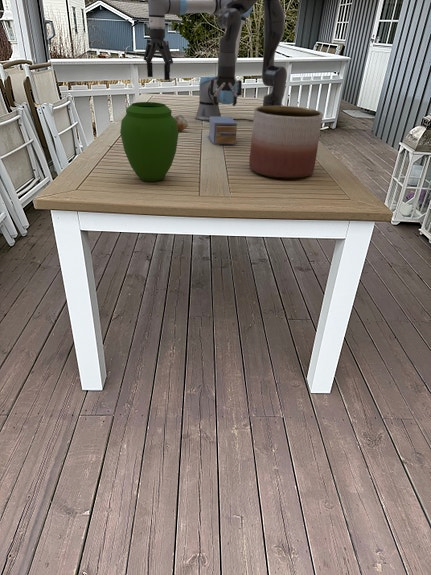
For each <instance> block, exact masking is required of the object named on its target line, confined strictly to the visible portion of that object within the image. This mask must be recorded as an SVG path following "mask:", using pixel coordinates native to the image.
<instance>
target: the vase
mask: <svg viewBox="0 0 431 575" xmlns="http://www.w3.org/2000/svg"><path fill="white" fill-rule="evenodd" d="M125 113H126V114H125V115H124V117H122V119H121V122H120V123H121V124H120V130H119V133H120V138H121V142H122V147H123V150H124V154H125V155H126V158H127V160H128V163H129V165H130V167H131V168H132V170H133V172H134V173H135V175H136V176H137V177H138V178H139V179H141V180H143V181H145V182H159V181H161V180H163V179H164V178H165V176H166V175H167V174H168V173H169V170H170V169H171V167H172V165H173V162H174V159H175V157H176V156H175V155H176V153H177V147H178V140H179V131H178V128H177V123H176V120H175V119H174V116H173V115H172V109H171V108H170V107H169V106H167V105H166V104H164V103H162V102H155V101H138V102H132V103H131V104H130V105H128V107H127V108H125Z"/></svg>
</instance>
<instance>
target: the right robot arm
mask: <svg viewBox="0 0 431 575" xmlns="http://www.w3.org/2000/svg"><path fill="white" fill-rule="evenodd" d="M257 1H258V0H231V1H230V2H229V3H227V4H226V5H225V6H223V7H222V8H221V9H220V11H219V12H218V15H216V23H217V25H218V27H219V28H221V29H224V30H225V29H226V33H225V32H224V34H223V35H222V36H220V37H219V42H218V43H219V45H218V48H219V49H218V58H217V75H216V76H217V80H212V79H210V86H209V94H211V95H213V104H214V105H215V106H217V94H218V93H219V92H220V91H221V90H222V91H230V90H231V92H232V93H233V95H234V96H233V103H232V104H231V105H232V107H236V105H237V102H238V97H239V96H242V88H243V86H242V85H243V84H242V83H243V82H242V80H241V79H237V80H236V81H235V77H236V69H235V65H236V66H237V63H236V41H237V37H238V34H239V30H240V26H241V15H243V14H245V13H247V12H248V11H249V9H250V8H251V7H252V6H254V5H255V4H256V3H257ZM252 8H253V7H252ZM285 20H286V18H285V11H284V9H283V6H282V3H281V1H280V0H263V55H262V56H263V57H262V67H261V68H262V69H261V79H262V84H263V85H264V86H266V87H270V88H272V90H271V92H270V93H268V94H265V95H264V96H263V100H262V106H283V99H284V97H285V91H286V86H287V80H288V71H287V68H286V67H285V66H284V65H283V66H282V65H276V64H275V56H276V52H277V49H278V48H279V46H280V43H281V41H282V39H283V37H284V34H285V22H286V21H285ZM215 83H217V85H218V87H217V88H216V90H215V92H213V85H215ZM235 83H236V85H237V86H238V90H237V93H236V91H235V89H234V88H233V86H234V85H235ZM237 96H238V97H237Z"/></svg>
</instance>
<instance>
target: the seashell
mask: <svg viewBox="0 0 431 575" xmlns="http://www.w3.org/2000/svg"><path fill="white" fill-rule="evenodd" d="M173 118H174V119H175V120H176V123H177V128H178V132H182V131H184V130H186V129H187V128H188V127H189V123H188V121H187V119H185V117H184V116H183V115H182V114H178V115H175V116H173Z"/></svg>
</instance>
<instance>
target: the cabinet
mask: <svg viewBox="0 0 431 575" xmlns="http://www.w3.org/2000/svg"><path fill="white" fill-rule="evenodd" d="M233 119H234V118H232V117H231V116H221V117H212V116H210V121H209V128H208V129H209V130H208V137H209V139H210V141H211V142H212V144H213V145H217V144H216V125H233V126H238V123H237V121H236V120H233Z"/></svg>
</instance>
